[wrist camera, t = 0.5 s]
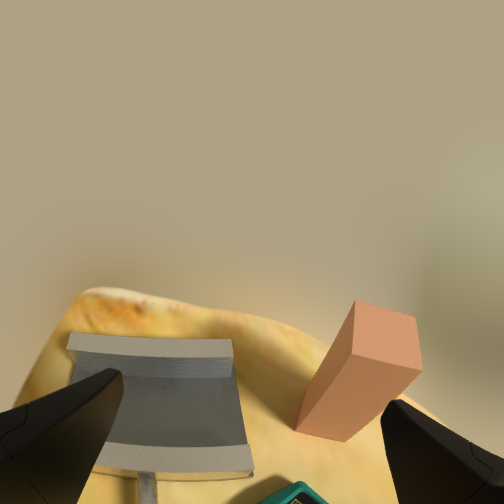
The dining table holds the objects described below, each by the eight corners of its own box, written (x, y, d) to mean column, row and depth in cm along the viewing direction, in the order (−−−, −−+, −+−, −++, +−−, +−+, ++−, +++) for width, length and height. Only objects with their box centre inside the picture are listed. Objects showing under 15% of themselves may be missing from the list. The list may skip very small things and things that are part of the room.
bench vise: (269, 554, 11) (283, 560, 8) (64, 540, 7) (38, 539, 5) (232, 365, 27) (236, 338, 24) (80, 359, 23) (66, 331, 21)
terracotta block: (344, 442, 20) (422, 370, 14) (294, 431, 21) (351, 353, 15) (351, 400, 25) (414, 317, 18) (306, 389, 25) (355, 299, 19)
